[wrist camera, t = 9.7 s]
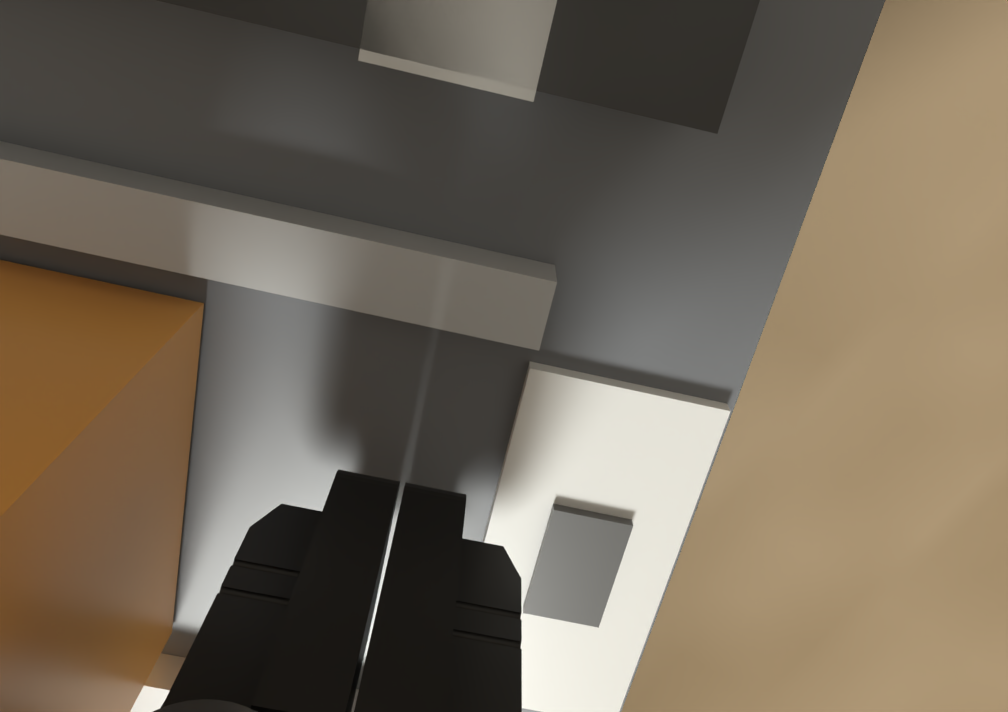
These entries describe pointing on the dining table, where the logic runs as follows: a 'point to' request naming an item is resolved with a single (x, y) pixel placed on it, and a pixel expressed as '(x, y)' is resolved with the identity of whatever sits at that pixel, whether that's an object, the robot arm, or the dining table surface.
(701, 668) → the dining table surface
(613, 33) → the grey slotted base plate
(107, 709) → the block
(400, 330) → the breaker panel
